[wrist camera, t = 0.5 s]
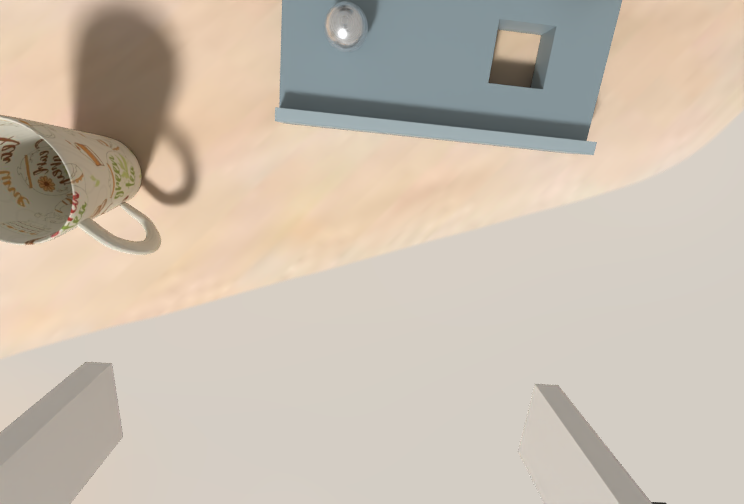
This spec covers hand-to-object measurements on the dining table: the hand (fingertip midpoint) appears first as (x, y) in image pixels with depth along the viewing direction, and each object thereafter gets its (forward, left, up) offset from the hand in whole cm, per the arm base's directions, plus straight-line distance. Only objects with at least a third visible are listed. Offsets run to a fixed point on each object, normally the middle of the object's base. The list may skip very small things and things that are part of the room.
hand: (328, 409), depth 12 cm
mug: (-2, -20, -25) cm, 32 cm away
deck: (-17, +7, -25) cm, 31 cm away
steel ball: (-16, -1, -21) cm, 26 cm away
